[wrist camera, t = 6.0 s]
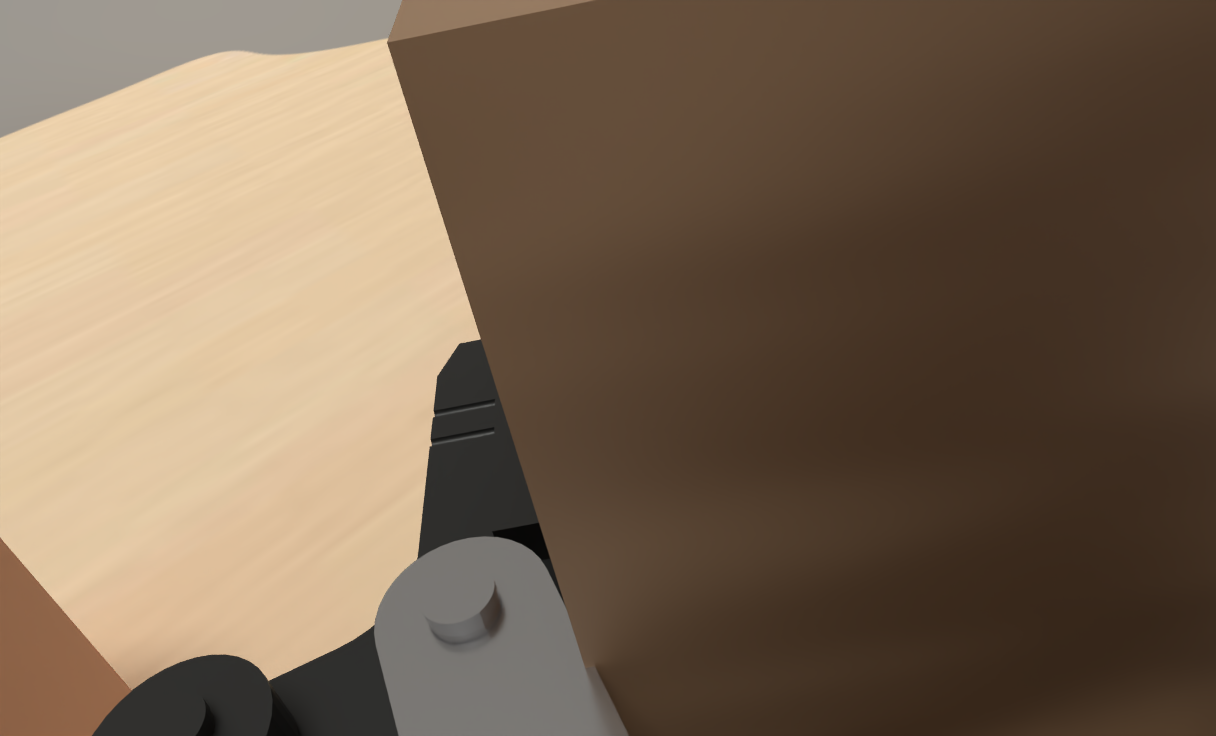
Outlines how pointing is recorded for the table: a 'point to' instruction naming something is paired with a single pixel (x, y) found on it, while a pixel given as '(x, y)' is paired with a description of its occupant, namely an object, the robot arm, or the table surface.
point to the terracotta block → (47, 663)
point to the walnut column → (851, 347)
